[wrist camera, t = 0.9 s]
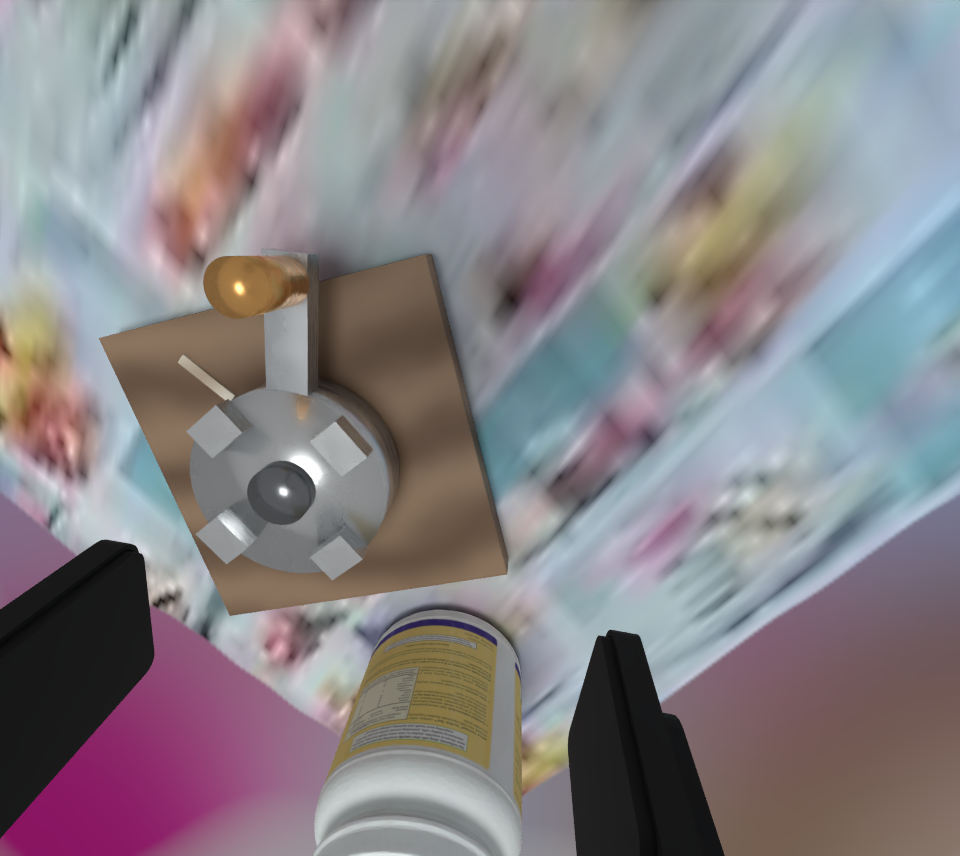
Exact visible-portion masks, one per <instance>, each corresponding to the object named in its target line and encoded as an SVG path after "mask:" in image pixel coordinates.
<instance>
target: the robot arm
mask: <svg viewBox="0 0 960 856" xmlns="http://www.w3.org/2000/svg"><path fill="white" fill-rule="evenodd" d="M153 659H154V645H153V635H152V627H151V617H150V608H149V599H148V589H147V580H146V571H145V562H144V557H143V555H142V554H140V553H139V552H138V548H137V547H136V546H135V545H132V544H128V543H122V542H117V541H111V540H101V541H99V542H97V543H95V544H94V545H92V546H91V547H89V548H88V549H87V550H85V551H84V552H82V553H81V554H79V555H78V556H76V557H75V558H74V559H72V560H71V561H69V562H68V563H66V564H65V565H64V566H62V567H61V568H59V569H58V570H56V571H55V572H54V573H52V574H51V575H50V576H48V577H46V578H45V579H43V580H42V581H41V582H39V583H38V584H36V585H35V586H33V587H32V588H31V589H29V590H28V591H26V592H25V593H23V594H22V595H20V596H19V597H18V598H16V599H15V600H13V601H12V602H10V603H9V604H7V605H6V606H5V607H3V608H2V609H0V838H1V837H2V836H3V835H4V834H5V832H6V831H7V830H8V829H9V828H10V827H11V826H12V825H13V823H14V822H15V821H16V820H17V819H18V818H19V817H20V815H21V814H22V813H23V812H24V811H25V810H26V809H27V808H28V806H29V805H30V804H31V803H32V802H33V801H34V800H35V798H36V797H37V796H38V795H39V794H40V793H41V792H42V791H43V789H44V788H45V787H46V786H47V785H48V784H49V783H50V781H51V780H52V779H53V778H54V777H55V776H56V775H57V774H58V772H59V771H60V770H61V769H62V768H63V767H64V766H65V765H66V763H67V762H68V761H69V760H70V759H71V758H72V757H73V756H74V754H75V753H76V752H77V751H78V750H79V749H80V747H81V746H82V745H83V744H84V743H85V742H86V741H87V740H88V738H89V737H90V736H91V735H92V734H93V733H94V732H95V731H96V729H97V728H98V727H99V726H100V725H101V724H102V723H103V722H104V720H105V719H106V718H107V717H108V716H109V715H110V714H111V713H112V711H113V710H114V709H115V708H116V707H117V705H119V703H120V702H121V701H122V700H123V699H124V698H125V697H126V696H127V694H128V693H129V692H130V691H131V690H132V689H133V687H134V686H135V685H136V684H137V683H138V682H139V681H140V680H141V679H142V677H143V676H144V675H145V674H146V673H147V671H148V670H149V668H150V666H151V665H152V662H153ZM568 756H569V768H570V780H571V792H572V804H573V815H574V827H575V839H576V851H577V856H724V853H723V850H722V846H721V843H720V840H719V837H718V834H717V831H716V828H715V825H714V822H713V819H712V816H711V813H710V810H709V806H708V803H707V800H706V797H705V795H704V791H703V788H702V785H701V782H700V779H699V776H698V773H697V770H696V767H695V764H694V760H693V757H692V754H691V751H690V748H689V745H688V742H687V739H686V736H685V733H684V730H683V727H682V725H681V723H680V720H679V719H678V718H677V717H676V716H675V715H672V714H667V713H662V710H661V706H660V703H659V699H658V696H657V693H656V689H655V686H654V682H653V679H652V675H651V672H650V669H649V665H648V662H647V658H646V655H645V652H644V648H643V645H642V641H641V639H640V636H638V635H637V634H631V633H626V632H620V631H615V630H609V631H608V632H607V635H606V637H605V636H598V637H597V639H596V642H595V645H594V649H593V652H592V656H591V659H590V662H589V666H588V669H587V673H586V676H585V679H584V683H583V686H582V690H581V693H580V697H579V700H578V703H577V707H576V710H575V714H574V717H573V720H572V724H571V727H570V731H569V737H568Z"/></svg>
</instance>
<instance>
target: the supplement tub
mask: <svg viewBox="0 0 960 856" xmlns="http://www.w3.org/2000/svg"><path fill="white" fill-rule="evenodd" d="M521 687H522V675H521V669H520V665H519V661H518V658H517V656H516V653H515V651H514V649H513V648H512V646H511V645H510V643H509V642H508V641H507V639H506V638H505V637H504V636H503V635H502V634H501V633H500V632H499V631H498V630H497V629H495V628H494V627H493V626H491V625H490V624H488V623H487V622H485V621H483V620H481V619H479V618H477V617H475V616H472V615H469V614H466V613H463V612H458V611H452V610H429V611H423V612H418V613H415V614H412V615H410V616H407V617H405V618H403V619H402V620H400V621H398V622H397V623H395V624H394V625H393V626H391V627H390V628H389V629H388V630H387V631H386V632H385V633H384V635H383V636H382V637H381V638H380V640H379V641H378V643H377V645H376V646H375V648H374V650H373V653H372V655H371V659H370V662H369V665H368V667H367V670H366V673H365V676H364V678H363V681H362V684H361V686H360V689H359V692H358V694H357V697H356V700H355V702H354V705H353V708H352V710H351V713H350V716H349V719H348V721H347V724H346V727H345V730H344V732H343V735H342V738H341V740H340V743H339V746H338V749H337V752H336V754H335V757H334V760H333V763H332V765H331V768H330V771H329V773H328V776H327V779H326V782H325V784H324V787H323V789H322V791H321V793H320V796H319V801H318V805H317V809H316V814H315V838H316V843H317V848H316V850H315V853H314V855H313V856H519V855H520V849H521V840H522V823H521V822H522V815H521V814H522V806H521V805H522V752H521Z"/></svg>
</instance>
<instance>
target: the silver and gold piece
mask: <svg viewBox="0 0 960 856" xmlns="http://www.w3.org/2000/svg"><path fill="white" fill-rule="evenodd" d="M203 284H204V290H205V294H206V296H207V298H208V300H209V302H210V304H211V305H212V306H213V307H214V308H215V309H216V310H217V311H218V312H219V313H221V314H222V315H224V316H226V317H229V318H233V319H243V318H247V317H251V316H255V315H260V314H264V334H265V366H266V383H264V384H263V385H261V386H259V387H257V388H255V389H253V390H251V391H249V392H247V393H245V394H243V395H241V396H239V397H237V398H235V399H233V400H231V401H230V400H229V399H227V400H225V401H223V402H221V403H219V404H217V405H215V406H214V407H213V408H212V409H211V410H210V411H209V412H207V413H206V414H205V415H204V416H203V417H202V418H201V419H200V420H199V421H197V422H196V423H195V424H194V425H193V426H192V427H191V428H190V429H189V430H187V431H186V432H187V433H188V434H189V435H190V436H191V437H192V438H193V439H194V443H193V447H192V450H191V457H190V478H191V484H192V488H193V492H194V495H195V498H196V501H197V503H198V505H199V507H200V509H201V511H202V513H203V515H204V516H205V518H206V520H207V521H208V522H209V523H208V524H207V525H206V526H204V527H203V528H202V529H201V530H200V531H199V532H197V533H196V535H197V536H198V537H199V538H200V539H201V540H202V541H203V542H204V543H205V544H206V545H207V546H208V547H209V548H210V549H211V550H212V551H213V552H214V553H215V554H216V555H217V556H218V557H219V558H220V559H221V560H223V561H224V562H225V563H226V564H228V563H229V562H230V561H232V560H233V559H234V558H236V557H237V556H238V555H240V554H242V555H244V556H246V557H247V558H249V559H251V560H253V561H255V562H257V563H259V564H262V565H264V566H267V567H270V568H273V569H276V570H281V571H286V572H293V573H315V572H322V571H323V572H324V573H325V574H326V575H327V576H328V577H329V578H330V579H331V580H334V579H335V578H337V577H338V576H340V575H341V574H342V573H344V572H345V571H347V570H348V569H350V568H351V567H353V566H354V565H356V564H357V563H359V562H360V561H361V560H363V558H364V556H365V555H366V553H367V551H368V549H369V548H368V547H367V546H368V545H369V544H370V542H371V541H372V539H373V538H374V536H375V535H376V533H377V531H378V529H379V527H380V525H381V523H382V522H383V520H384V518H385V516H386V514H387V512H388V510H389V508H390V506H391V504H392V502H393V500H394V498H395V495H396V492H397V488H398V483H399V460H398V454H397V450H396V447H395V443H394V441H393V439H392V436H391V434H390V432H389V430H388V429H387V427H386V425H385V424H384V422H383V421H382V419H381V418H380V417H379V415H378V414H377V413H376V412H375V411H374V410H373V409H372V408H371V407H370V406H369V405H368V404H367V403H366V402H365V401H364V400H362V399H361V398H360V397H359V396H357V395H356V394H354V393H353V392H351V391H349V390H348V389H346V388H344V387H342V386H340V385H338V384H335V383H332V382H329V381H326V380H323V379H318V291H319V254H313V253H305V252H297V251H289V250H281V249H262V256H225V257H220V258H217V259H216V260H214V261H213V262H211V263H210V265H209V266H208V267H207V269H206V271H205V274H204V280H203Z"/></svg>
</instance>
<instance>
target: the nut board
mask: <svg viewBox="0 0 960 856" xmlns="http://www.w3.org/2000/svg"><path fill="white" fill-rule="evenodd" d="M99 340H100V342H101V344H102V346H103V348H104V350H105V352H106V354H107V357H108V359H109V361H110V363H111V365H112V367H113V369H114V371H115V373H116V376H117V378H118V380H119V382H120V384H121V386H122V388H123V390H124V393H125V395H126V397H127V399H128V401H129V403H130V405H131V407H132V409H133V412H134V414H135V416H136V418H137V420H138V422H139V424H140V426H141V428H142V431H143V433H144V435H145V437H146V439H147V441H148V443H149V445H150V448H151V450H152V452H153V454H154V456H155V458H156V460H157V462H158V464H159V467H160V469H161V471H162V473H163V475H164V477H165V479H166V481H167V484H168V486H169V488H170V490H171V492H172V494H173V496H174V498H175V500H176V503H177V505H178V507H179V509H180V511H181V513H182V515H183V517H184V519H185V522H186V524H187V526H188V528H189V530H190V532H191V534H192V536H193V539H194V541H195V543H196V545H197V547H198V549H199V551H200V553H201V555H202V558H203V560H204V562H205V564H206V566H207V568H208V570H209V572H210V575H211V577H212V579H213V581H214V583H215V585H216V587H217V589H218V591H219V594H220V596H221V598H222V600H223V602H224V604H225V606H226V608H227V610H228V613H229V615H230V616H232V615H238V614H245V613H252V612H258V611H265V610H272V609H278V608H285V607H292V606H298V605H305V604H312V603H319V602H325V601H332V600H339V599H345V598H352V597H359V596H365V595H372V594H379V593H386V592H392V591H399V590H406V589H412V588H419V587H426V586H432V585H439V584H446V583H452V582H459V581H466V580H473V579H479V578H486V577H493V576H499V575H506V574H507V569H508V556H507V552H506V548H505V544H504V540H503V536H502V532H501V528H500V524H499V520H498V516H497V512H496V508H495V504H494V500H493V496H492V492H491V488H490V484H489V480H488V476H487V472H486V469H485V465H484V461H483V457H482V453H481V449H480V445H479V441H478V437H477V433H476V429H475V425H474V421H473V417H472V413H471V409H470V405H469V401H468V397H467V393H466V389H465V385H464V381H463V377H462V374H461V370H460V366H459V362H458V358H457V354H456V350H455V346H454V342H453V338H452V334H451V330H450V326H449V322H448V318H447V314H446V310H445V306H444V302H443V298H442V294H441V290H440V286H439V282H438V278H437V275H436V271H435V267H434V263H433V259H432V255H431V254H425V255H421V256H418V257H414V258H410V259H406V260H402V261H398V262H394V263H390V264H386V265H382V266H379V267H375V268H371V269H367V270H363V271H359V272H355V273H351V274H347V275H343V276H340V277H336V278H332V279H328V280H324V281H320V282H319V291H318V379H323V380H326V381H329V382H332V383H335V384H338V385H340V386H342V387H344V388H346V389H348V390H349V391H351V392H353V393H354V394H356V395H357V396H359V397H360V398H361V399H362V400H364V401H365V402H366V403H367V404H368V405H369V406H370V407H371V408H372V409H373V410H374V411H375V412H376V413H377V414H378V415H379V417H380V418H381V419H382V421H383V422H384V424H385V425H386V427H387V429H388V430H389V432H390V434H391V436H392V439H393V441H394V443H395V447H396V450H397V454H398V460H399V483H398V488H397V492H396V495H395V498H394V500H393V502H392V504H391V506H390V508H389V510H388V512H387V514H386V516H385V518H384V520H383V522H382V523H381V525H380V527H379V529H378V531H377V533H376V535H375V536H374V538H373V539H372V541H371V542H370V544H369V545H368V546H367V547H368V548H369V549H368V551H367V553H366V555H365V556H364V558H363V560H361V561H360V562H359V563H357V564H356V565H354V566H353V567H351V568H350V569H348V570H347V571H345V572H344V573H342V574H341V575H340V576H338V577H337V578H335V579H334V580H331V579H330V578H329V577H328V576H327V575H326V574H325V573H324V572H323V571H322V572H315V573H293V572H286V571H281V570H276V569H273V568H270V567H267V566H264V565H262V564H259V563H257V562H255V561H253V560H251V559H249V558H247V557H246V556H244V555H242V554H240V555H238V556H237V557H236V558H234V559H233V560H232V561H230V562H229V563H228V564H226V563H225V562H224V561H223V560H221V559H220V558H219V557H218V556H217V555H216V554H215V553H214V552H213V551H212V550H211V549H210V548H209V547H208V546H207V545H206V544H205V543H204V542H203V541H202V540H201V539H200V538H199V537H198V536H197V535H196V533H197V532H199V531H200V530H201V529H202V528H203V527H204V526H206V525H207V524H208V523H209V522H208V521H207V520H206V518H205V516H204V515H203V513H202V511H201V509H200V507H199V505H198V503H197V501H196V498H195V495H194V492H193V488H192V484H191V478H190V457H191V450H192V447H193V443H194V439H193V438H192V437H191V436H190V435H189V434H188V433H187V432H186V431H187V430H189V429H190V428H191V427H192V426H193V425H194V424H195V423H196V422H197V421H199V420H200V419H201V418H202V417H203V416H204V415H205V414H206V413H207V412H209V411H210V410H211V409H212V408H213V407H214V406H215V405H217V404H219V403H221V402H223V401H225V400H227V399H229V400H230V401H231V400H233V399H235V398H237V397H239V396H241V395H243V394H245V393H247V392H249V391H251V390H253V389H255V388H257V387H259V386H261V385H263V384H264V383H266V366H265V334H264V314H260V315H255V316H251V317H247V318H243V319H233V318H229V317H226V316H224V315H222V314H221V313H219V312H218V311H217V310H216V309H211V310H207V311H203V312H199V313H195V314H191V315H187V316H184V317H180V318H176V319H172V320H168V321H164V322H160V323H156V324H152V325H148V326H145V327H141V328H137V329H133V330H129V331H125V332H121V333H117V334H113V335H109V336H106V337H102V338H99Z"/></svg>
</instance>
